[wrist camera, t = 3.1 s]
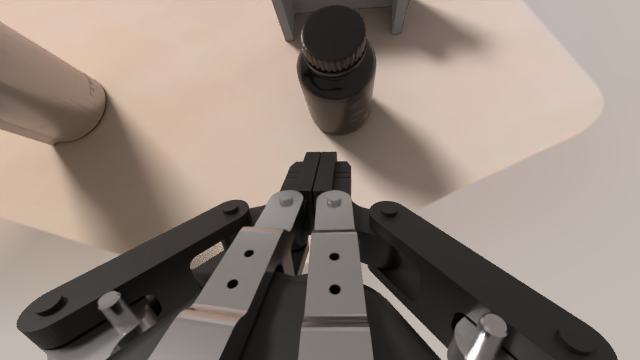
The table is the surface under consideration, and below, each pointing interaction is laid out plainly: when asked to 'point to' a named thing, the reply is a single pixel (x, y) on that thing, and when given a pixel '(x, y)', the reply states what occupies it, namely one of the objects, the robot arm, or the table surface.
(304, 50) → the supplement bottle
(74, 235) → the table surface
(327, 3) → the panel
